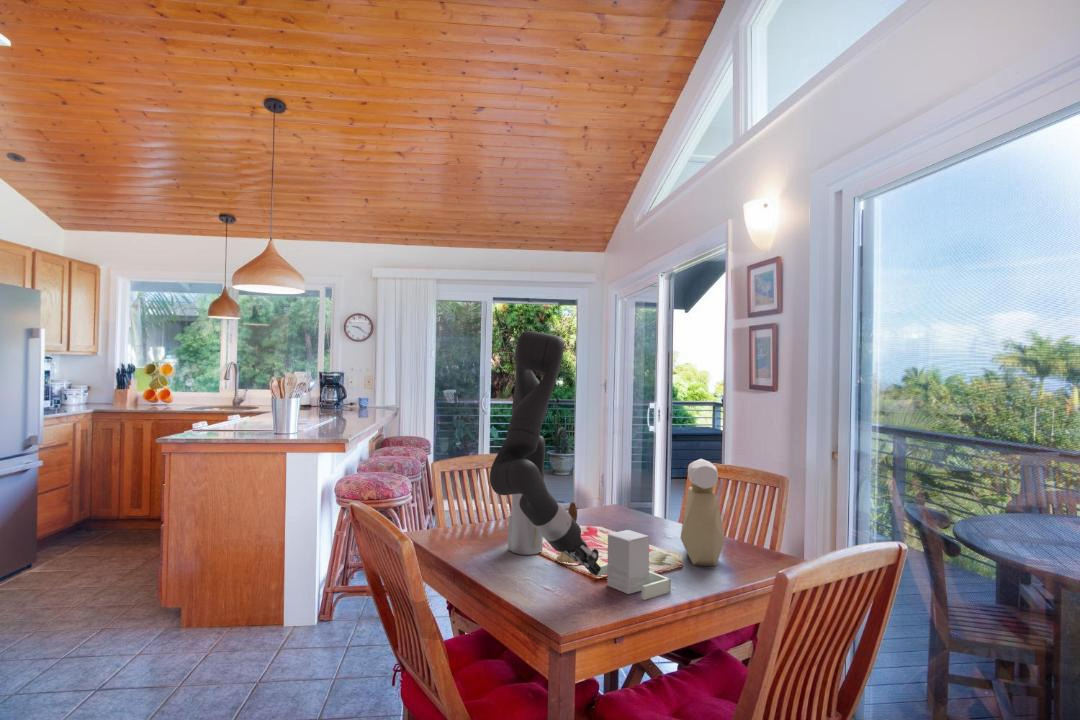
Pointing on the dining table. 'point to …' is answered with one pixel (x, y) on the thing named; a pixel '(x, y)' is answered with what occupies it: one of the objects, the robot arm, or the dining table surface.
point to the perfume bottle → (702, 516)
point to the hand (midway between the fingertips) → (596, 571)
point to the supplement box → (628, 561)
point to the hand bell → (573, 513)
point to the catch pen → (653, 589)
